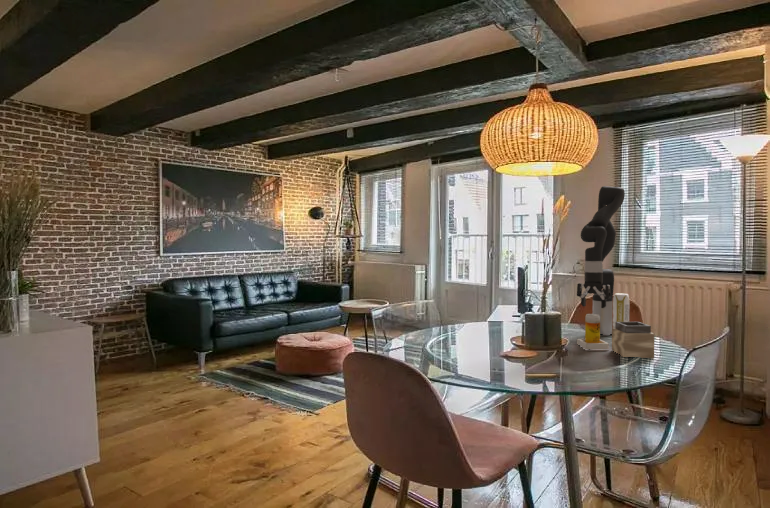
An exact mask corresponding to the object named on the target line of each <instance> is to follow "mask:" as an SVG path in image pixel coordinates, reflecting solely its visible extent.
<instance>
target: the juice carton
mask: <svg viewBox="0 0 770 508" xmlns="http://www.w3.org/2000/svg"><path fill="white" fill-rule="evenodd" d="M615 322H630V295H629V293H621V292H620V293H619V292H617V293H614V294H613V298H612V328H615Z"/></svg>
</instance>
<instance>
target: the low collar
mask: <svg viewBox="0 0 770 508" xmlns="http://www.w3.org/2000/svg"><path fill="white" fill-rule="evenodd" d="M576 344H578V345H580V346H582V347H583V348H585V349H609V348H610V347H609V345H610V344H609V342H607V341H604V340H602V339H601V338H600V343H586V342H585V338H576ZM578 345H577V346H578Z"/></svg>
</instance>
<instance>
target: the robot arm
mask: <svg viewBox="0 0 770 508" xmlns="http://www.w3.org/2000/svg"><path fill="white" fill-rule="evenodd" d="M625 195H626V192H625V189H624V187H621V186H620V187H619V186H607V185H603V186H601V187H600V189H599V192H598V198H597V199H598V202H597V210H596V212H595V213H594V215H593V217H592V218H591V220H590V221H589V222H588V223H586V225H584V226H583V227H582V228H581V231H580V239H581V240H582V242H585V243H594V245H593V247H587V248H586V249H585V250H584V283H581V282H578V283H577V284H576V285H577V286H576V296H577V297H579V298H580V302H581V303H580V304H581V306H582V307H586V305H587V296H588V295H589V294H593V295H592V314H598V315H599V316H600V334H603V335H602V336H611V335H610V334H612V328H613V297H614V288H615V287H614V286H615V274H614V272H613V270H612V269H611V268H610V269H609V268H603V267H604V264H603V262H604V261H605V258H606V257H607V256H608V255H609V254H610V253H611V251H612V250H613V249H614V246H615V243H616V236H617V235H616V234H617V233H616V229H615V227H614V225H613V223H612V221H611V219H612V217H613V216H614V215H615V214H616V212H617V211H618V210H619V209H620V207H621V206H622V205H623V203H624V201H625ZM583 288H584V291H583Z"/></svg>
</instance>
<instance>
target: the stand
mask: <svg viewBox="0 0 770 508" xmlns="http://www.w3.org/2000/svg"><path fill="white" fill-rule="evenodd" d="M655 336H656V335H655V333H653V332H652V326H651V325H649V324H646V323H643V322H640V321H629V322H615V328H613V327H612V335H611V351H612V350H613V351H614V352H613V351H612V352H613V353H615V352H616V353H615V354H617V353H618V354H617V355H619V354H620V355H621V357H622V356H623V358H624V357H641V358H640V359H646V358H648V359H651V358H652V359H654V358H655ZM620 355H619V356H620Z"/></svg>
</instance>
